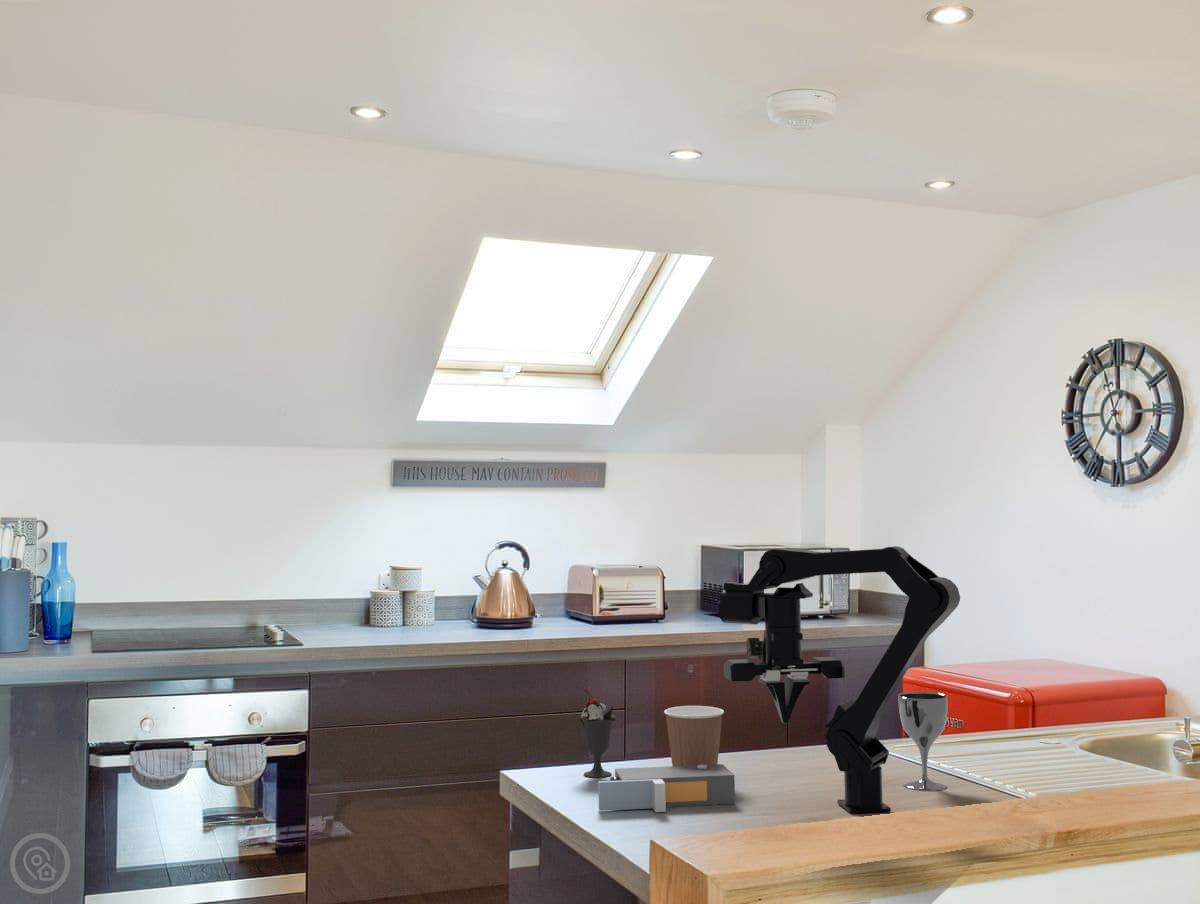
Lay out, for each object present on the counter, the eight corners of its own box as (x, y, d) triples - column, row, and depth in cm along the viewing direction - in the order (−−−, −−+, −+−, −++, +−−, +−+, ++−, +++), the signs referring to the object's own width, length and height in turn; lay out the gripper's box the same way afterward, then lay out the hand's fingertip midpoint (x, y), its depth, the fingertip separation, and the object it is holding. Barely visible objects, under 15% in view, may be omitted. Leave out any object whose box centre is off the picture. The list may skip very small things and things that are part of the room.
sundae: (573, 772, 207) (572, 688, 207) (608, 769, 209) (607, 685, 210) (585, 780, 200) (584, 693, 201) (621, 777, 203) (620, 690, 204)
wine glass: (940, 779, 198) (938, 691, 198) (956, 791, 190) (954, 698, 190) (894, 780, 197) (892, 692, 198) (908, 792, 189) (906, 699, 190)
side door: (665, 811, 178) (665, 783, 179) (601, 814, 177) (600, 786, 177) (662, 806, 181) (661, 778, 182) (598, 809, 180) (598, 781, 180)
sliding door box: (735, 803, 183) (734, 771, 184) (614, 809, 181) (614, 777, 181) (723, 791, 191) (722, 761, 192) (608, 796, 189) (607, 765, 189)
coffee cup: (735, 778, 201) (734, 708, 201) (707, 790, 192) (706, 717, 193) (683, 771, 206) (682, 703, 207) (654, 783, 198) (652, 712, 198)
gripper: (822, 619, 197) (824, 712, 196) (715, 622, 195) (717, 716, 194) (844, 626, 186) (846, 724, 185) (731, 629, 184) (732, 728, 183)
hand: (784, 722), depth 187 cm, fingers closed
